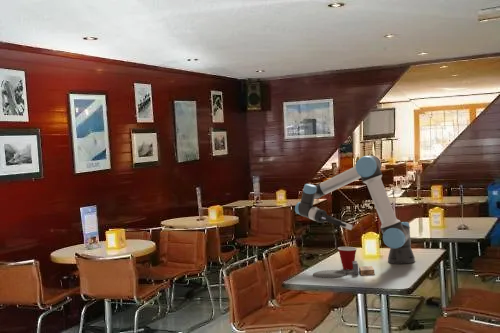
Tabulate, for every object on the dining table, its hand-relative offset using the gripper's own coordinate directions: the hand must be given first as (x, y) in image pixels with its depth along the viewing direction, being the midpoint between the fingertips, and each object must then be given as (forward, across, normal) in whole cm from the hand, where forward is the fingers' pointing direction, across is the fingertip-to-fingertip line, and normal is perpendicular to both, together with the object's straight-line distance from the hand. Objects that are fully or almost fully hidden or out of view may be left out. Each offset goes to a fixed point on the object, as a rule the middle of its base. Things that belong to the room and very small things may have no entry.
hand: (351, 227), depth 313 cm
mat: (+2, -11, +27) cm, 29 cm away
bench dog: (+13, -3, +22) cm, 26 cm away
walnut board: (+18, 0, +20) cm, 27 cm away
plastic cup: (+3, +6, +23) cm, 24 cm away
